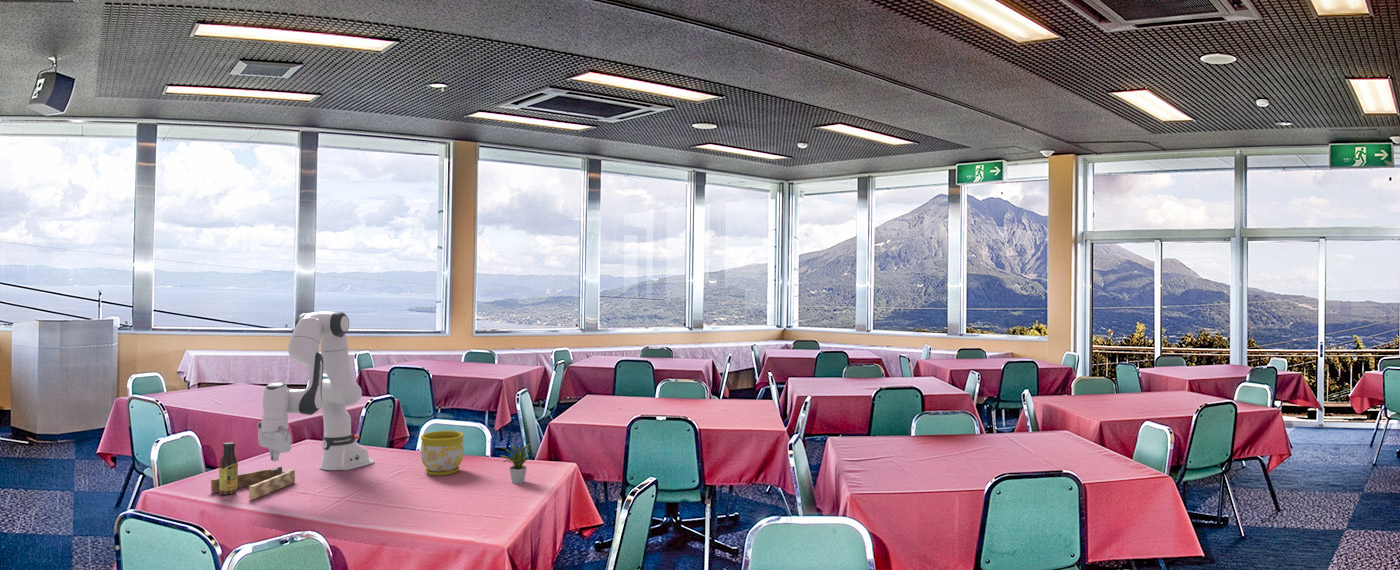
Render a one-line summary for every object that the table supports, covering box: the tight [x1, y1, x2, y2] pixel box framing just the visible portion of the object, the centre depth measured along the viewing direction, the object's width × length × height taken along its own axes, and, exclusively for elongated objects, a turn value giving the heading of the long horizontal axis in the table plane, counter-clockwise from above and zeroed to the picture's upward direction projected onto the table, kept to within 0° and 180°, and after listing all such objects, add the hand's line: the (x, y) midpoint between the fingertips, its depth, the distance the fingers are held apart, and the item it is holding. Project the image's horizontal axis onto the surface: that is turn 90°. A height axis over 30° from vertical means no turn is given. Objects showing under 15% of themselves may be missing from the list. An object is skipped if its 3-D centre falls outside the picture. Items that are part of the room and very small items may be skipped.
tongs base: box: [210, 466, 283, 493], centre depth 321 cm, size 26×8×7 cm, turn 142°
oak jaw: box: [248, 469, 296, 500], centre depth 317 cm, size 26×4×5 cm, turn 172°
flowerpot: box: [420, 430, 465, 477], centre depth 348 cm, size 18×18×16 cm
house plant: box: [499, 443, 533, 485], centre depth 335 cm, size 14×14×16 cm
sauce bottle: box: [218, 441, 239, 496], centre depth 313 cm, size 6×6×20 cm
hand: (274, 460), depth 309 cm, fingers closed
